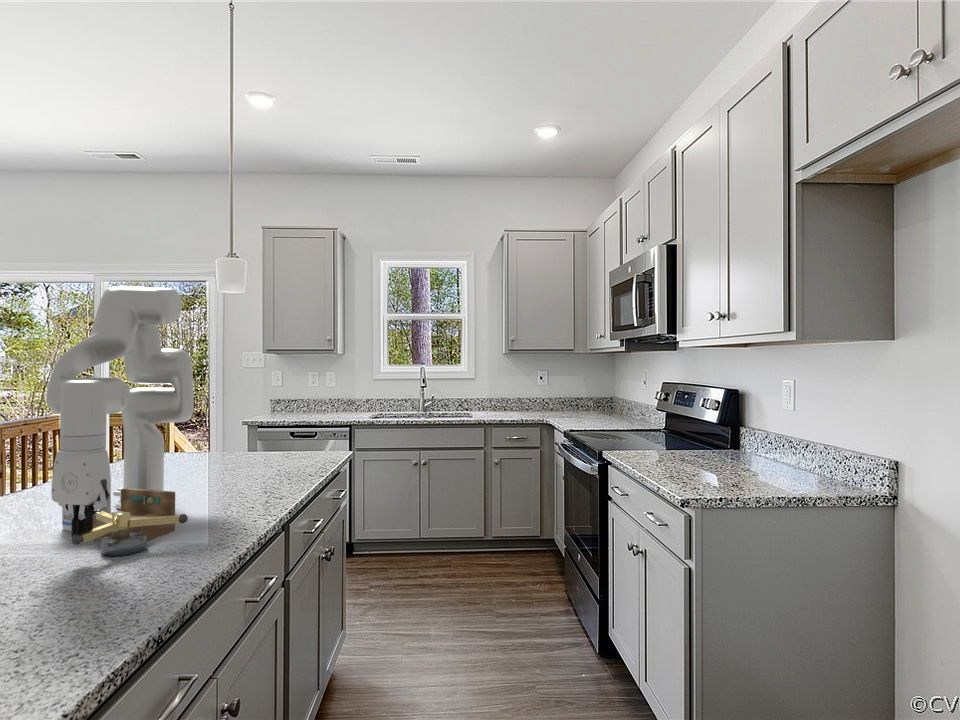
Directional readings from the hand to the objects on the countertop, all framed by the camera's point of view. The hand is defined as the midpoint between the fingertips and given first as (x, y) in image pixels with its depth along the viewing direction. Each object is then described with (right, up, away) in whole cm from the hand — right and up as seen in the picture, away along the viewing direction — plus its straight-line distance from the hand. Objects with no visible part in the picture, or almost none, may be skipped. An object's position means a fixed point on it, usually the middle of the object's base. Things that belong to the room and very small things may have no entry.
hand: (82, 538), depth 117 cm
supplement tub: (-15, -5, +24) cm, 29 cm away
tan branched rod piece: (+3, -4, +4) cm, 7 cm away
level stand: (-1, -5, +18) cm, 19 cm away
